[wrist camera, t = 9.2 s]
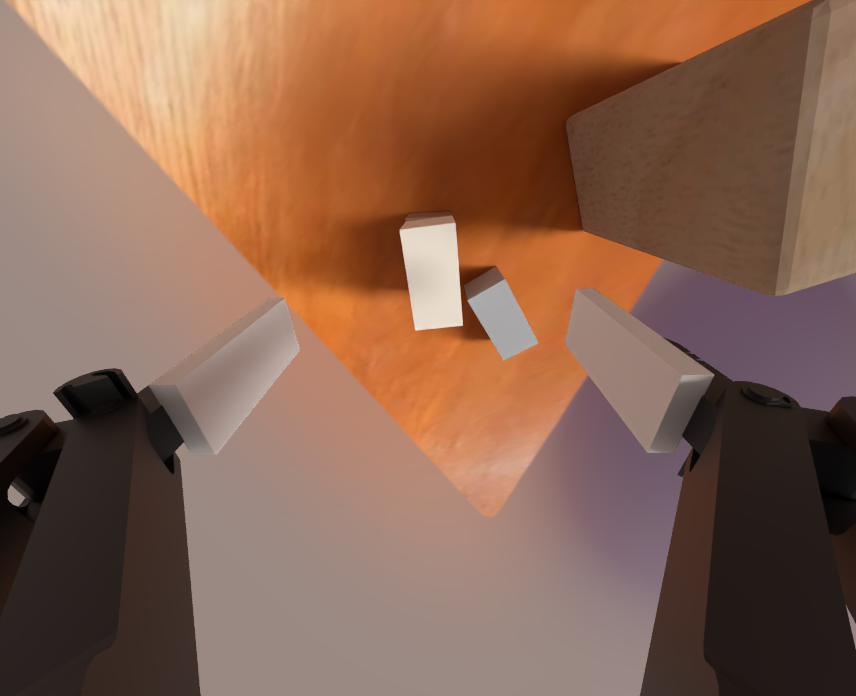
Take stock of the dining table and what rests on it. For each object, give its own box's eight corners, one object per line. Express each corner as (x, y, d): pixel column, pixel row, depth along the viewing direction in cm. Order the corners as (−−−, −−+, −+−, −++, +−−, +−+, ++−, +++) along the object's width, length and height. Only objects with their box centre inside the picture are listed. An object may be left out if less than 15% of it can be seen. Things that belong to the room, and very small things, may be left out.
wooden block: (581, 232, 31) (773, 303, 13) (562, 120, 26) (813, -1, 9) (690, 189, 28) (1093, 204, 11) (689, 59, 24) (1359, -263, 7)
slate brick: (463, 285, 34) (467, 300, 29) (495, 265, 33) (504, 279, 28) (495, 339, 37) (503, 360, 32) (526, 323, 36) (538, 343, 31)
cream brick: (405, 221, 26) (399, 229, 22) (452, 215, 26) (455, 222, 21) (418, 308, 30) (415, 330, 25) (459, 304, 29) (462, 325, 25)
